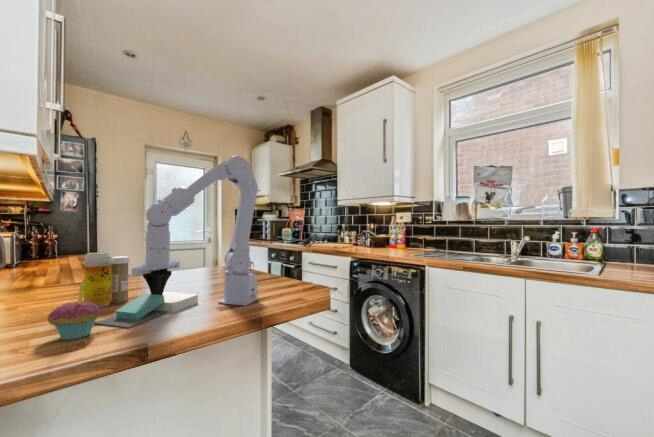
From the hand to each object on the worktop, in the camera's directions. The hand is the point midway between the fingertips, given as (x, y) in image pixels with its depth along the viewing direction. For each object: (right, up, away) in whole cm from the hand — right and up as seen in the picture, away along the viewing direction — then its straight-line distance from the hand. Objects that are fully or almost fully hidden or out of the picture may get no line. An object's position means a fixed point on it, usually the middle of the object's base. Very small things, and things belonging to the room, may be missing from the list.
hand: (156, 297), depth 82 cm
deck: (+1, -3, +4) cm, 5 cm away
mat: (-2, -3, -7) cm, 8 cm away
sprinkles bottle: (-16, -3, +8) cm, 18 cm away
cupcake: (-7, -3, -19) cm, 20 cm away
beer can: (-18, -3, +2) cm, 18 cm away
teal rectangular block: (-1, -2, -5) cm, 5 cm away
